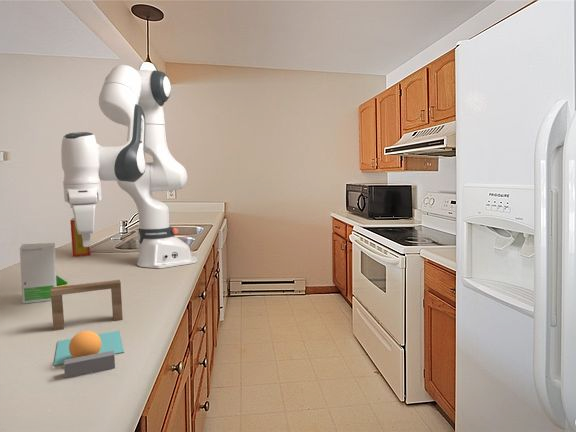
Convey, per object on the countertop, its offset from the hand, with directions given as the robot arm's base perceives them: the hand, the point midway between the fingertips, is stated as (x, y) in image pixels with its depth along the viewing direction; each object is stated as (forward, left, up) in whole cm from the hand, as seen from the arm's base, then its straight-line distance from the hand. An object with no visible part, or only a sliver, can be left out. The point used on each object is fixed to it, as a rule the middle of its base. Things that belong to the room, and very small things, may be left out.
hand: (86, 245), depth 109 cm
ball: (+1, +37, -13) cm, 39 cm away
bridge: (+1, +16, -16) cm, 23 cm away
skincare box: (+13, -11, -16) cm, 23 cm away
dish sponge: (+12, -25, -17) cm, 32 cm away
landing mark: (+1, +31, -16) cm, 35 cm away
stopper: (+1, +42, -16) cm, 45 cm away
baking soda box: (+3, -76, -16) cm, 77 cm away
